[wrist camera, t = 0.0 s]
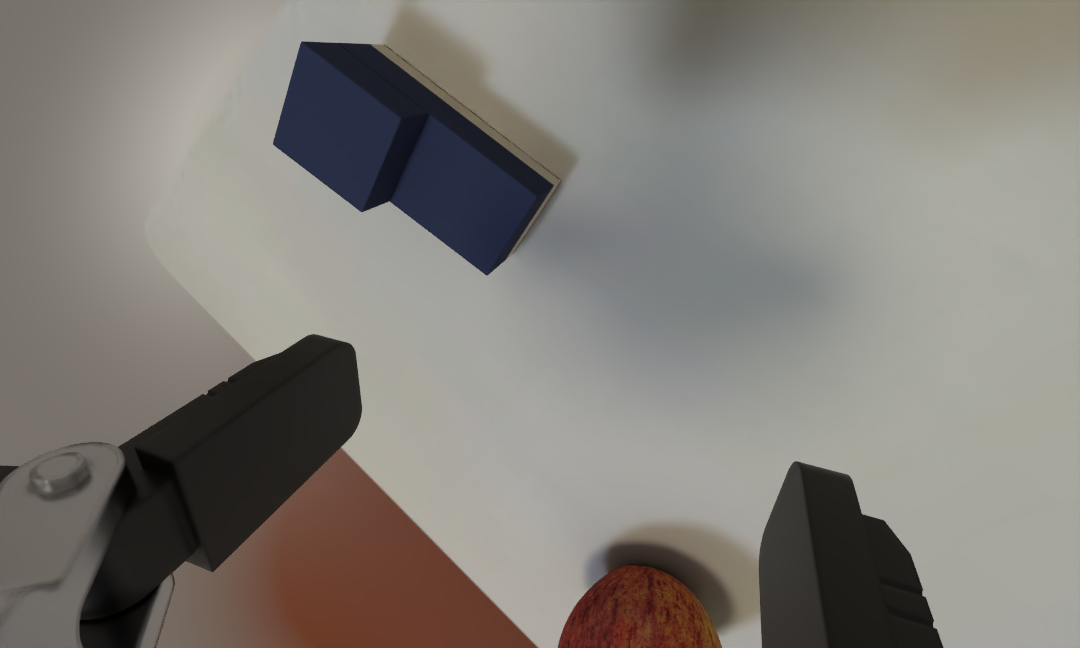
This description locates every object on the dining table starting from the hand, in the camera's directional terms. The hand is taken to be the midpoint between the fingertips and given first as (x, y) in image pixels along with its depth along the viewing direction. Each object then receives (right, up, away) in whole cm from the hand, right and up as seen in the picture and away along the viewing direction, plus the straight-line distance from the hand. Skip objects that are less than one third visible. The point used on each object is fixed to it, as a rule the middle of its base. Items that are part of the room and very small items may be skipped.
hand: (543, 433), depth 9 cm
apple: (+7, -15, +23) cm, 29 cm away
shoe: (-4, +10, +15) cm, 19 cm away
